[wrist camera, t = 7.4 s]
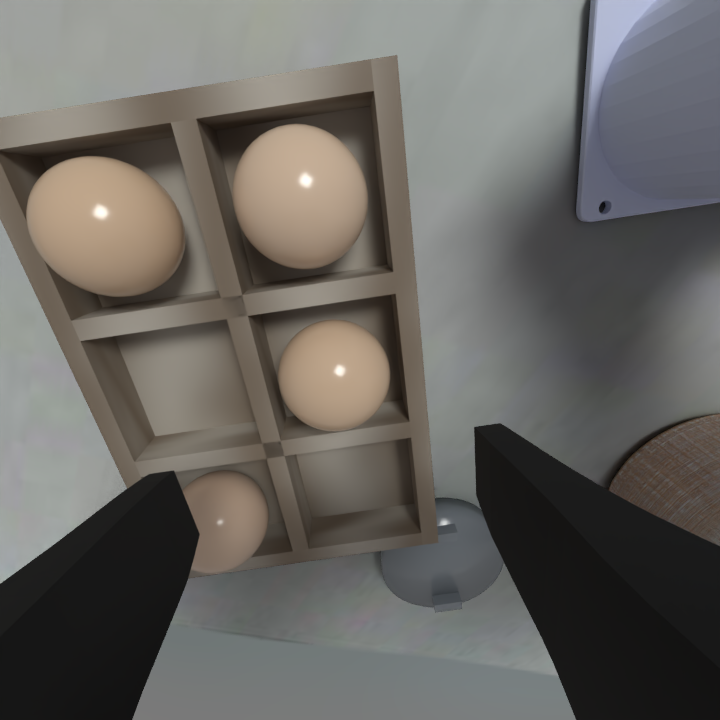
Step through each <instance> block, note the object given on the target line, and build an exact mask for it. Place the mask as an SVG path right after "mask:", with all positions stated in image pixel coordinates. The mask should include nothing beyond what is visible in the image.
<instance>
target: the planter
mask: <svg viewBox="0 0 720 720" xmlns="http://www.w3.org/2000/svg"><path fill="white" fill-rule="evenodd" d="M608 490H609V491H610V492H612V493H614V494H616V495H618V496H619V497H621V498H623V499H625V500H627V501H629V502H630V503H632V504H634V505H636V506H638V507H640V508H642V509H644V510H646V511H648V512H649V513H651V514H653V515H655V516H657V517H659V518H661V519H664V520H666V521H668V522H670V523H672V524H674V525H676V526H678V527H680V528H682V529H684V530H686V531H689V532H691V533H693V534H695V535H697V536H699V537H701V538H703V539H705V540H708V541H710V542H712V543H714V544H717V545H719V546H720V414H714V415H708V416H704V417H700V418H696V419H693V420H690V421H687V422H684V423H681V424H679V425H676V426H674V427H672V428H670V429H668V430H666V431H664V432H662V433H660V434H659V435H657V436H655V437H654V438H652V439H651V440H649V441H648V442H647V443H645V444H644V445H643V446H642V447H640V448H639V449H638V450H637V451H636V452H634V453H633V454H632V455H631V456H630V457H629V458H628V459H627V461H626V462H625V463H624V464H623V465H622V467H621V468H620V469H619V471H618V472H617V473H616V475H615V476H614V478H613V480H612V482H611V484H610V486H609V488H608Z"/></svg>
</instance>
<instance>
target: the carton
mask: <svg viewBox="0 0 720 720" xmlns="http://www.w3.org/2000/svg"><path fill="white" fill-rule="evenodd" d="M287 124H306V125H310V126H315V127H318V128H320V129H323V130H325V131H327V132H329V133H330V134H332V135H334V136H335V137H336V138H338V139H339V140H340V141H341V142H342V143H344V144H345V145H346V146H347V147H348V149H349V150H350V151H351V152H352V154H353V155H354V157H355V158H356V160H357V161H358V163H359V165H360V167H361V170H362V172H363V175H364V178H365V181H366V186H367V192H368V210H367V215H366V220H365V223H364V226H363V229H362V231H361V233H360V236H359V237H358V239H357V240H356V242H355V243H354V245H353V246H352V247H351V248H350V250H349V251H347V252H346V253H345V254H344V255H343V256H342V257H340V258H339V259H338V260H336V261H334V262H332V263H330V264H328V265H325V266H323V267H319V268H314V269H295V268H290V267H286V266H283V265H280V264H278V263H276V262H274V261H272V260H270V259H269V258H267V257H265V256H264V255H263V254H262V253H260V252H259V251H258V250H257V249H256V248H255V247H254V246H253V245H252V244H251V243H250V241H249V240H248V239H247V237H246V236H245V234H244V232H243V231H242V229H241V227H240V225H239V222H238V220H237V217H236V214H235V210H234V204H233V193H232V191H233V180H234V175H235V171H236V168H237V165H238V163H239V161H240V159H241V157H242V155H243V153H244V152H245V150H246V149H247V148H248V147H249V145H250V144H251V143H252V142H253V141H254V140H255V139H257V138H258V137H259V136H260V135H262V134H263V133H265V132H267V131H268V130H271V129H273V128H276V127H279V126H283V125H287ZM83 156H99V157H108V158H113V159H116V160H119V161H122V162H125V163H128V164H131V165H133V166H135V167H137V168H139V169H140V170H142V171H144V172H145V173H147V174H148V175H150V176H151V177H152V178H154V179H155V180H156V181H157V182H158V183H159V184H160V185H161V186H162V187H163V188H164V189H165V190H166V191H167V192H168V194H169V195H170V196H171V198H172V199H173V201H174V202H175V204H176V206H177V208H178V210H179V212H180V214H181V217H182V219H183V223H184V227H185V235H186V240H185V250H184V254H183V258H182V260H181V263H180V265H179V267H178V268H177V270H176V271H175V273H174V274H173V275H172V276H171V277H170V278H169V279H168V280H167V281H166V282H165V283H163V284H162V285H161V286H159V287H157V288H155V289H154V290H152V291H149V292H146V293H143V294H140V295H135V296H127V297H111V296H105V295H100V294H96V293H92V292H89V291H86V290H84V289H82V288H79V287H77V286H75V285H73V284H72V283H70V282H68V281H67V280H65V279H64V278H62V277H61V276H60V275H58V274H57V273H56V272H55V271H54V270H53V269H52V268H51V267H50V266H49V265H48V264H47V263H46V262H45V261H44V260H43V258H42V257H41V256H40V254H39V253H38V251H37V250H36V248H35V246H34V244H33V242H32V239H31V237H30V234H29V230H28V226H27V219H26V209H27V203H28V198H29V195H30V192H31V190H32V188H33V186H34V184H35V183H36V182H37V180H38V179H39V178H40V177H41V175H43V174H44V173H45V172H46V171H47V170H48V169H50V168H51V167H53V166H54V165H56V164H58V163H60V162H63V161H65V160H68V159H72V158H77V157H83ZM0 219H1V221H2V224H3V226H4V228H5V230H6V232H7V234H8V236H9V238H10V241H11V243H12V245H13V247H14V249H15V251H16V253H17V255H18V258H19V260H20V262H21V264H22V266H23V268H24V270H25V272H26V275H27V277H28V279H29V281H30V283H31V285H32V287H33V289H34V292H35V294H36V296H37V298H38V300H39V302H40V304H41V306H42V309H43V311H44V313H45V315H46V317H47V319H48V321H49V323H50V325H51V328H52V330H53V332H54V334H55V336H56V338H57V340H58V342H59V345H60V347H61V349H62V351H63V353H64V355H65V357H66V359H67V362H68V364H69V366H70V368H71V370H72V372H73V374H74V376H75V379H76V381H77V383H78V385H79V387H80V389H81V391H82V393H83V396H84V398H85V400H86V402H87V404H88V406H89V408H90V410H91V413H92V415H93V417H94V419H95V421H96V423H97V425H98V427H99V430H100V432H101V434H102V436H103V438H104V440H105V442H106V444H107V446H108V449H109V451H110V453H111V455H112V457H113V459H114V461H115V463H116V466H117V468H118V470H119V472H120V474H121V476H122V478H123V480H124V483H125V485H126V487H127V489H128V488H129V487H131V486H132V485H133V484H135V483H136V482H138V481H139V480H141V479H142V478H144V477H145V476H147V475H148V474H152V473H159V472H166V471H173V470H174V472H175V474H176V476H177V479H178V481H179V484H180V486H181V489H182V490H183V489H184V488H185V487H186V486H187V485H188V484H189V483H190V482H192V481H193V480H195V479H196V478H198V477H200V476H202V475H204V474H206V473H209V472H213V471H218V470H231V471H236V472H239V473H242V474H244V475H247V476H248V477H250V478H251V479H253V480H254V481H255V482H256V483H257V484H258V485H259V487H260V488H261V489H262V491H263V493H264V495H265V497H266V500H267V503H268V508H269V522H268V528H267V531H266V534H265V537H264V539H263V541H262V543H261V545H260V546H259V548H258V549H257V550H256V552H255V553H254V554H253V555H252V556H251V557H250V558H249V559H248V560H247V561H246V562H244V563H243V564H242V565H240V566H238V567H237V568H235V569H232V570H230V571H228V572H224V573H230V572H237V571H244V570H251V569H258V568H265V567H272V566H279V565H286V564H293V563H300V562H307V561H314V560H321V559H328V558H335V557H342V556H349V555H356V554H363V553H370V552H377V551H384V550H391V549H398V548H405V547H412V546H419V545H426V544H433V543H439V542H438V530H437V518H436V507H435V495H434V483H433V471H432V460H431V448H430V436H429V424H428V412H427V401H426V389H425V377H424V365H423V354H422V342H421V330H420V318H419V307H418V295H417V283H416V271H415V260H414V248H413V236H412V224H411V213H410V201H409V189H408V177H407V166H406V154H405V142H404V130H403V119H402V107H401V95H400V83H399V72H398V60H397V55H395V56H389V57H382V58H376V59H370V60H363V61H357V62H351V63H344V64H338V65H332V66H325V67H319V68H313V69H306V70H300V71H294V72H287V73H281V74H275V75H268V76H262V77H255V78H249V79H243V80H236V81H230V82H224V83H217V84H211V85H205V86H198V87H192V88H186V89H179V90H173V91H167V92H160V93H154V94H148V95H141V96H135V97H129V98H122V99H116V100H110V101H103V102H97V103H91V104H84V105H78V106H72V107H65V108H59V109H53V110H46V111H40V112H33V113H27V114H21V115H14V116H8V117H2V118H0ZM331 319H337V320H345V321H350V322H353V323H356V324H358V325H360V326H362V327H363V328H365V329H366V330H368V331H369V332H370V333H371V334H372V335H374V336H375V338H376V339H377V340H378V341H379V342H380V344H381V345H382V347H383V349H384V351H385V353H386V355H387V358H388V361H389V367H390V383H389V389H388V392H387V395H386V398H385V400H384V402H383V403H382V405H381V407H380V408H379V409H378V411H377V412H376V413H375V414H374V415H373V416H372V417H371V418H370V419H368V420H367V421H366V422H364V423H363V424H361V425H359V426H357V427H355V428H352V429H348V430H344V431H324V430H320V429H316V428H313V427H311V426H309V425H307V424H305V423H304V422H302V421H301V420H299V419H298V418H297V417H296V416H295V415H294V414H293V413H292V412H291V411H290V409H289V408H288V407H287V405H286V403H285V402H284V399H283V397H282V395H281V392H280V388H279V382H278V369H279V363H280V359H281V356H282V354H283V352H284V349H285V348H286V346H287V345H288V343H289V342H290V340H291V339H292V338H293V337H294V336H295V335H296V334H297V333H298V332H299V331H301V330H302V329H304V328H305V327H307V326H309V325H311V324H313V323H316V322H319V321H323V320H331ZM219 574H223V573H219ZM209 575H216V574H203V573H198V572H195V571H193V570H190V574H189V577H188V578H195V577H202V576H209Z"/></svg>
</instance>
